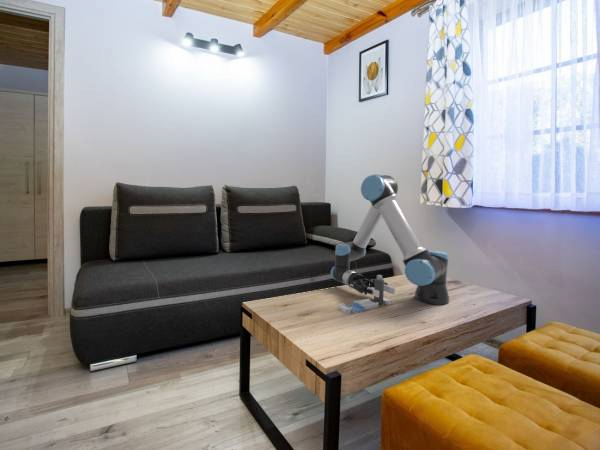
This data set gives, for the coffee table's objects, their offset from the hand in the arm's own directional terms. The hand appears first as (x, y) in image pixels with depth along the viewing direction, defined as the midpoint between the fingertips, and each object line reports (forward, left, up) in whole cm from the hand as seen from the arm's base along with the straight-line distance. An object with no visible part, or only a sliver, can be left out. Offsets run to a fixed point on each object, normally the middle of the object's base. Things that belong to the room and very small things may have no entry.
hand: (386, 292), depth 150 cm
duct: (+7, -5, -7) cm, 11 cm away
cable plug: (0, -5, -7) cm, 8 cm away
